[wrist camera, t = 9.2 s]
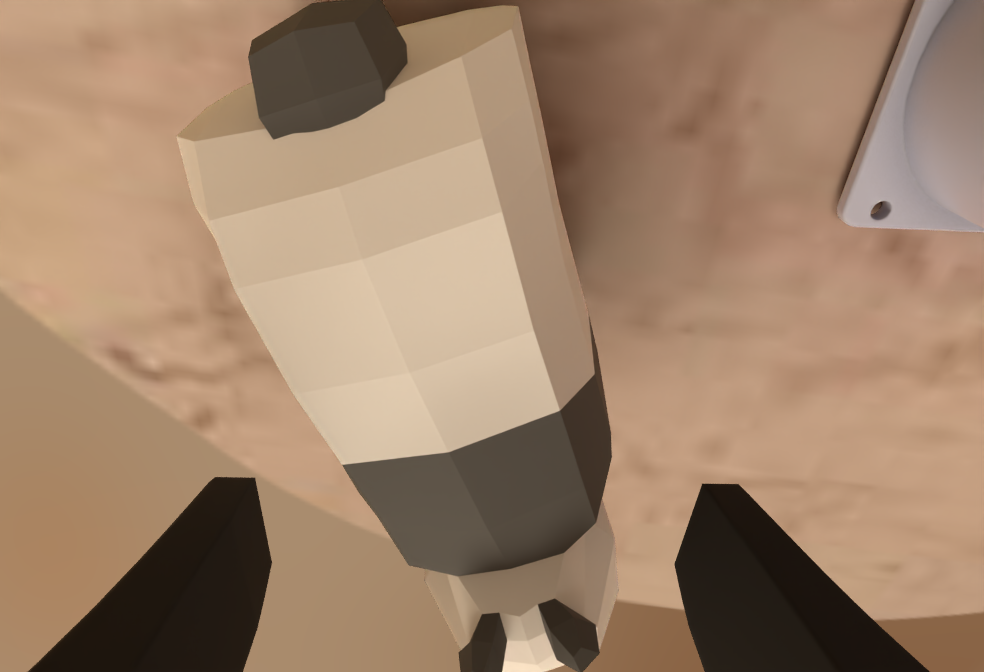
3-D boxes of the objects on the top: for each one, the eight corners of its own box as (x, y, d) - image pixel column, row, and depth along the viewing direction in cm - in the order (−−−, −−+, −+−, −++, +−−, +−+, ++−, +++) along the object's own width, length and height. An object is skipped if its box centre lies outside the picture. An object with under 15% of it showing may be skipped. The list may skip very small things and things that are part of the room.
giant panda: (251, 23, 13) (-59, 129, 5) (490, -58, 13) (543, -75, 5) (453, 474, 21) (449, 795, 13) (608, 436, 21) (705, 749, 13)
